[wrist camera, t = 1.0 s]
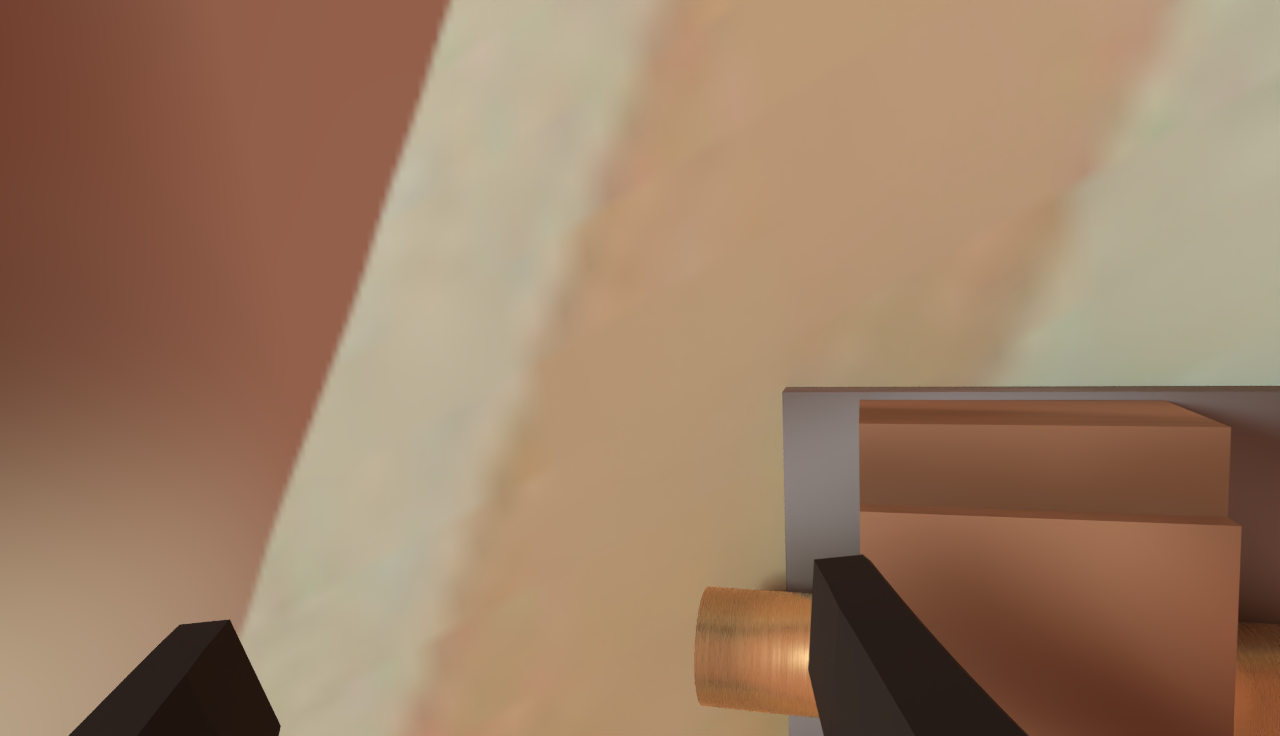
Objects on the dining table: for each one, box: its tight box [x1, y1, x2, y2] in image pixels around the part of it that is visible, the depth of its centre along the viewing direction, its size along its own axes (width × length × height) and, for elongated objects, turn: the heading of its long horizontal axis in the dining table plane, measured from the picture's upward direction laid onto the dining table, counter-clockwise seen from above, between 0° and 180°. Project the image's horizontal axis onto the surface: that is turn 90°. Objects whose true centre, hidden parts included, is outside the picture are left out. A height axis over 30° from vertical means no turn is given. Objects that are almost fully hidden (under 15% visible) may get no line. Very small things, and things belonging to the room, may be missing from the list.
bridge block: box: [782, 386, 1280, 736], centre depth 18 cm, size 12×15×5 cm
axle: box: [695, 587, 1280, 736], centre depth 19 cm, size 3×14×3 cm, turn 91°
